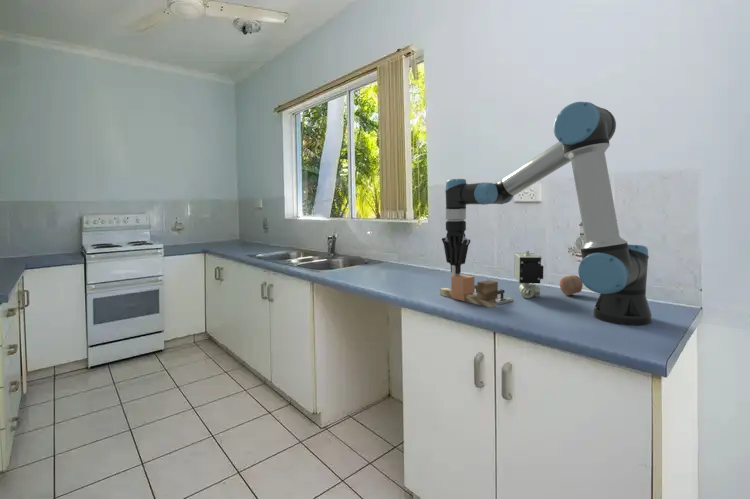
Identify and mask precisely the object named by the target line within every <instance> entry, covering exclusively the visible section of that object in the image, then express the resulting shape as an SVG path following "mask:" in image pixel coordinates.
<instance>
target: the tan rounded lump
mask: <svg viewBox="0 0 750 499" xmlns="http://www.w3.org/2000/svg"><path fill="white" fill-rule="evenodd" d="M583 286H584V284H583V283H582V281H581V280H580V277H579V275H573V274H572V275H564V276H562V277H561V279H560V280H559V288H560V290H561V292H562V293H563V294H564V295H565V296H568V297H569V296H571V295H575V294H578V293H581V291H582V290H583Z"/></svg>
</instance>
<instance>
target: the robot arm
mask: <svg viewBox="0 0 750 499" xmlns="http://www.w3.org/2000/svg"><path fill="white" fill-rule="evenodd" d="M616 122H617V121H616V118H615V116H614V115H613V113H612V112H611V111H609V110H608V109H606V108H603V107H601V106H597V105H596V104H594V103H592V102H590V101H589V102H588V101H575V102H572V103H570V104H568V105H566V106H565V107H564V108H562V109H561V110H560V112H559V113H558V115H556V117H555V120H554V122H553V134H554V137H555V138H556V139H557V143H556V142H555V144H553V145H551V146H550V147H549V148H547V149H545V150H544V151H543V152H541V153H540V154H538V155H537V156H535V157H533V158H532V159H531V160H529V161H527V162H525V164H523V165H522V166H520V167H518V168H517V169H515V170H514V171H512V172H510V174H507V175H506V176H505V177H503V178H502V179H501V180H499V181H497V182H496V183H493V182H477V183H467V180H466V178H453V179H448V180H446V183H445V185H446V186H445V189H444V190H445V192H444V193H445V220H446V221H445V231H446V236H445V237H442V238H441V241H442V244H443V247H444V248H443V249H444V253H445V254H444V255H445V259H446V260H445V261H446V263H447V264H450V273H451V276H457V275H461V268H462V267H461V266H462V265H465V264H466V260H467V255H468V249H469V245H470V244H471V239H468V238H467V237H466V233H465V231H466V230H467V222H466V219H467V205H468V206H469V205H505V204H508V203H509V202H511V201H512V200H513V198H514V197H515V196H516V195H517V194H519V193H521V192H522V191H525V189H528V188H529V187H530V186H532V185H534V184H536V183H537V182H539V181H541V180H542V179H544V178H546V177H547V176H549V175H551V174H552V173H554V172H555V171H558V170H559V169H561V168H562V167H564V166H566V165H567V164H569V163H570V162H571V167H572V175H573V178H574V184H575V186H574V187H575V191H576V196H577V201H578V207H579V213H580V214H579V215H580V219H581V223H582V229H583V235H584V243H583V245H581V247H580V252H581V258H582V260H581V262H580V263H579V266H578V277H579V278H580V280H581V281H582V285H583V286H585V287H586V288H587V289H589V291H591V292H594V293H596V294H598V295H599V296H598V299H597V301H596V303H595V306H594V308H593V316H594V317H595V318H596V319H598V320H600V321H603V322H608V323H612V324H619V325H625V326H642V325H643V326H644V325H648V324H651V323H652V311H651V309H650V306H649V303H648V299H647V296H646V295H647V279H648V278H647V277H648V263H649V257H650V256H649V249H648V247H647V246H645V245H640V244H639V245H638V244H628V241H627V240H625V239H624V238H622V237H621V236H620V231H619V230H620V229H619V225H618V224H619V223H618V220H617V214H616V209H615V208H616V207H615V203H614V198H613V192H612V186H611V180H610V175H609V169H608V163H607V158H606V152H607V150H608V148H609V147H610V140H611V139H612V138H613V136H614V134H615V132H616V128H617V123H616Z"/></svg>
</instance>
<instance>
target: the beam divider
mask: <svg viewBox="0 0 750 499" xmlns="http://www.w3.org/2000/svg"><path fill="white" fill-rule="evenodd" d="M476 283H477V284H476V285H477V295H474V294H470V293H469V294H465V301H464V302H466V303H470V304H473V305H479V306H482V307H487V308H494V307H496V299H497V298H498V295H500V296H501V298H503V296H504V294H505V289H498V288H499V287H498V286H499V285H498V284H499V282H498V281H495V280H490V279H487V280H483V281H477V282H476ZM439 292H440V293H439V295H440V296H443V297H448V298H451V299H453V298H452V292H451V288H448V287H442V288H439Z"/></svg>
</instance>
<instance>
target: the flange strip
mask: <svg viewBox="0 0 750 499" xmlns="http://www.w3.org/2000/svg"><path fill="white" fill-rule="evenodd" d="M474 295H477V293H476V289H474ZM513 301H514V297H513V298H512V297H508V296H504V295H503V298H501V294H498V298H497V299H496V305H497V306H498V305H503V304H506V303H510V302H511V303H512V302H513Z"/></svg>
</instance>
